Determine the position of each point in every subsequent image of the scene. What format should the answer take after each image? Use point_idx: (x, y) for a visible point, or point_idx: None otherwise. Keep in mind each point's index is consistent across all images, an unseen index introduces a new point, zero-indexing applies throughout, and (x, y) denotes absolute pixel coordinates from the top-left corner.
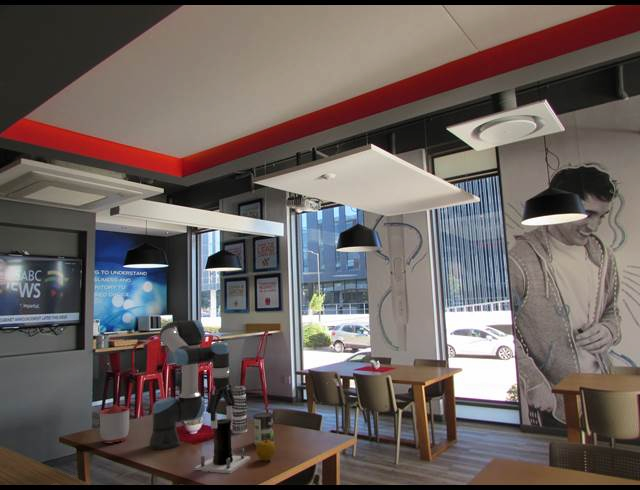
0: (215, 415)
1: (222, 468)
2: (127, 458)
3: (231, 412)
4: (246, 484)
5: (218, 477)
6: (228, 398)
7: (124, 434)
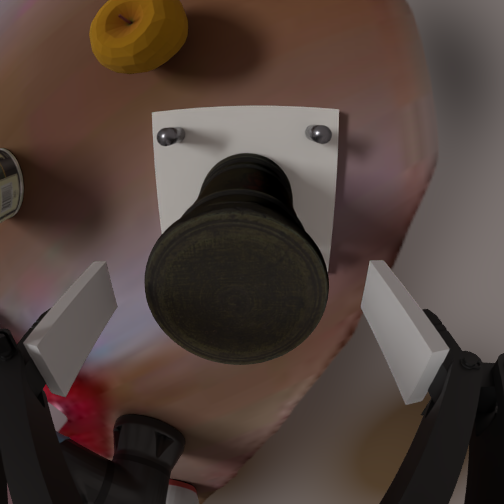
0: (434, 338)
1: (324, 155)
2: (254, 451)
3: (71, 303)
4: (414, 18)
5: (382, 140)
6: (38, 464)
7: (169, 488)
